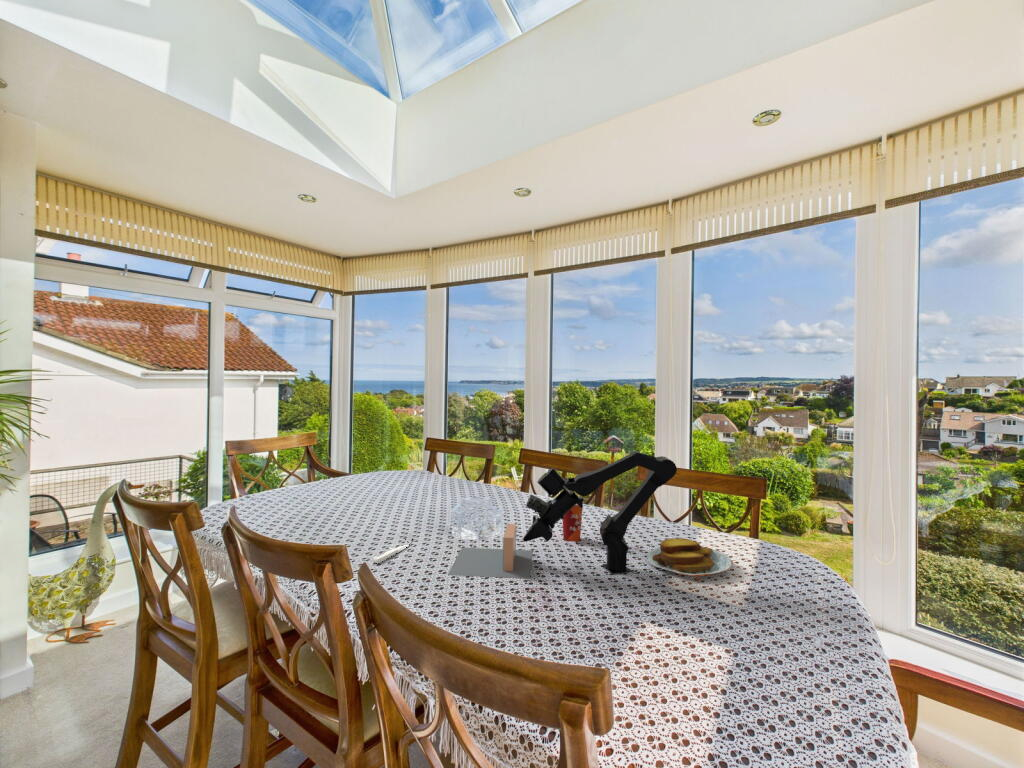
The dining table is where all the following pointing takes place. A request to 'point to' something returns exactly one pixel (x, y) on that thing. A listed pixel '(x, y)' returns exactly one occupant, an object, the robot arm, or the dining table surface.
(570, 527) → the coffee cup
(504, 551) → the tile
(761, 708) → the dining table surface
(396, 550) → the knife
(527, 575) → the mat
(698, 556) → the food on plate
